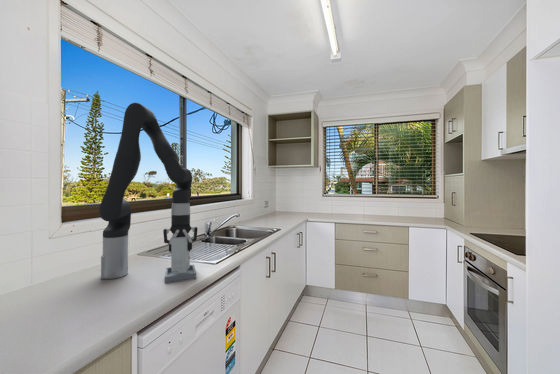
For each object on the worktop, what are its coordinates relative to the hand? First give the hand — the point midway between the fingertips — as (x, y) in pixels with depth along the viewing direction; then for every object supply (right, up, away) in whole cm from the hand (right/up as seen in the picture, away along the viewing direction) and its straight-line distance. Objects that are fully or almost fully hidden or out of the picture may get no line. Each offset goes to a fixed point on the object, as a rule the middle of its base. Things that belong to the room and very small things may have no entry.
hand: (180, 251), depth 106 cm
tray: (0, -11, 0) cm, 11 cm away
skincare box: (0, -8, 0) cm, 8 cm away
